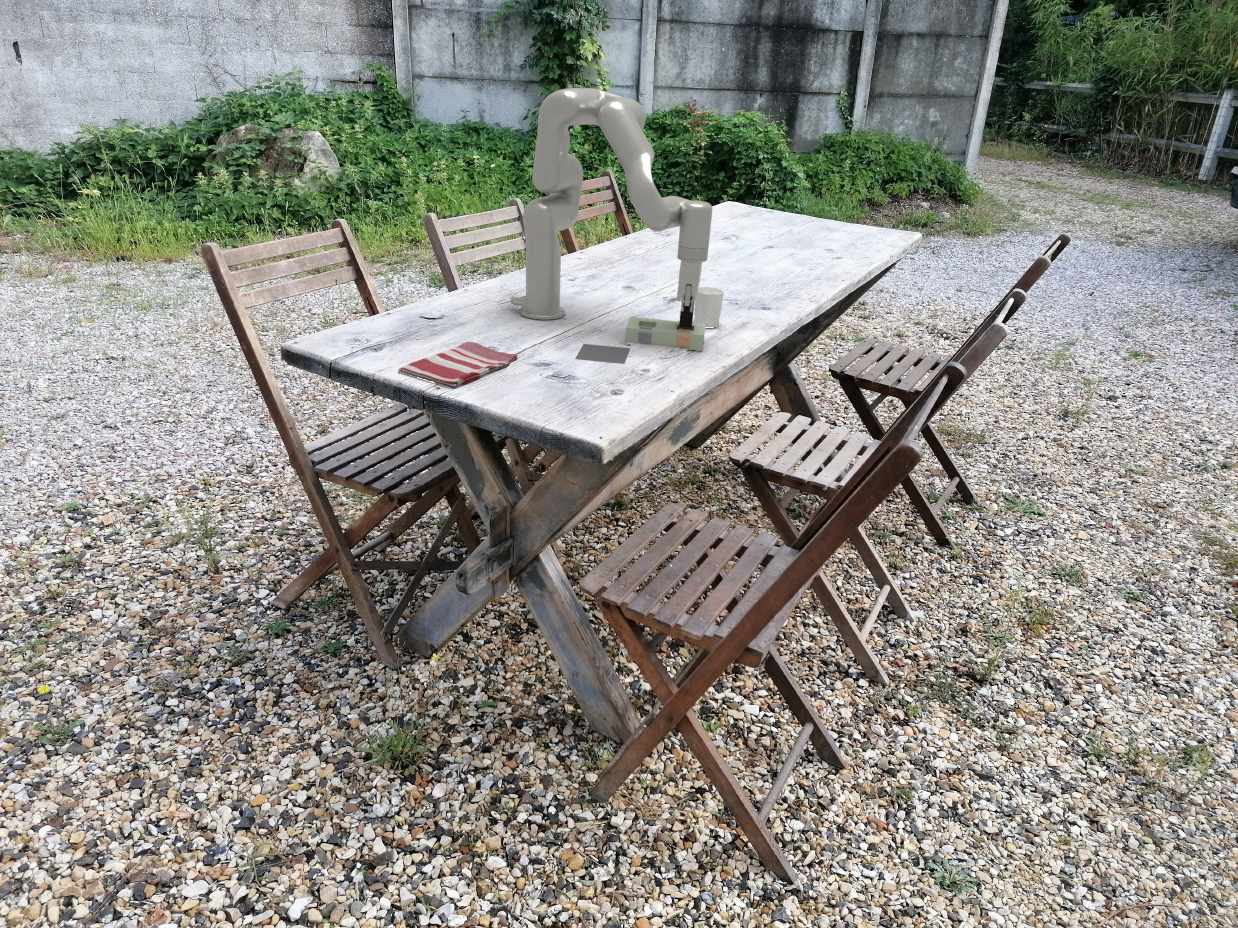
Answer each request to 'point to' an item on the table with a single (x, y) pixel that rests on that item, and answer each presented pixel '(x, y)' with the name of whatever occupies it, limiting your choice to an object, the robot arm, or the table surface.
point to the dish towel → (459, 365)
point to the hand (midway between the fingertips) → (685, 324)
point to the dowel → (692, 318)
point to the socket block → (664, 333)
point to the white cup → (708, 306)
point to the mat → (603, 353)
